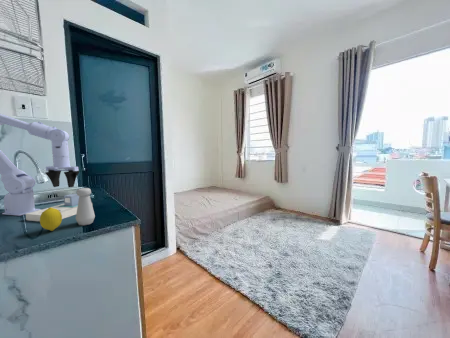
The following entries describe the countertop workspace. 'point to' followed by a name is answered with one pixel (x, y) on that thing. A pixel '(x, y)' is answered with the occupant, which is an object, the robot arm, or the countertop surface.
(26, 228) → the countertop surface
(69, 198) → the plug
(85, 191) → the salt shaker
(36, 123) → the robot arm
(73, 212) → the panel
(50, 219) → the lemon
